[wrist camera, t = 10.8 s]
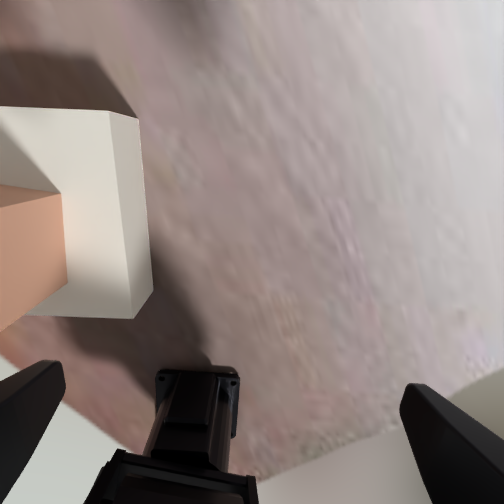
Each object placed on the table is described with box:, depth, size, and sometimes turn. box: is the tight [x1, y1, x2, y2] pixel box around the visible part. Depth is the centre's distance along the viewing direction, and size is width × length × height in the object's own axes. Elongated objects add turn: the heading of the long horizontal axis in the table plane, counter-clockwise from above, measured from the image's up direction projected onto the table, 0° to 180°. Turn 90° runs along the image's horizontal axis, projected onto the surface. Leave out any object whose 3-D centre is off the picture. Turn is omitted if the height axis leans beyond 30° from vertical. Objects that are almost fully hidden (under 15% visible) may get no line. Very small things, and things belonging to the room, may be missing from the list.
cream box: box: [0, 106, 154, 319], centre depth 17 cm, size 11×11×4 cm
